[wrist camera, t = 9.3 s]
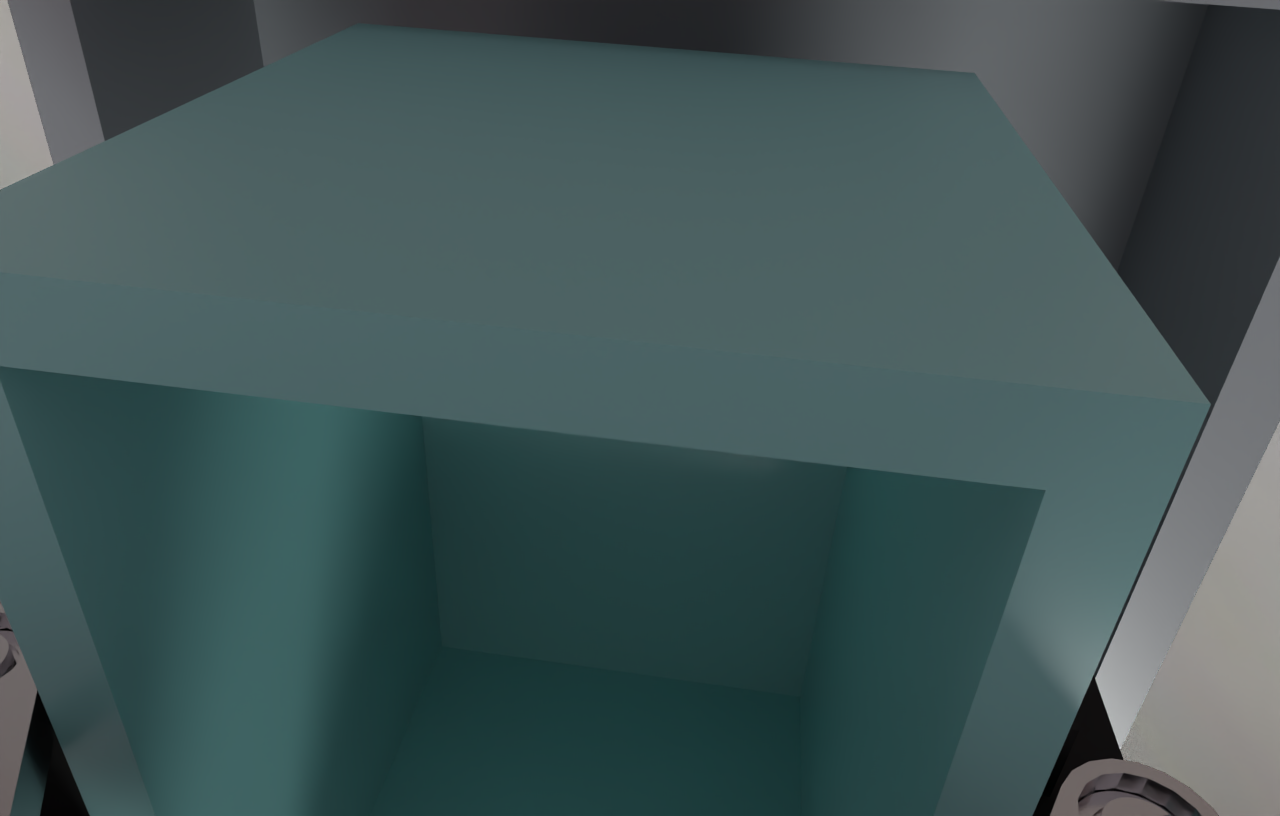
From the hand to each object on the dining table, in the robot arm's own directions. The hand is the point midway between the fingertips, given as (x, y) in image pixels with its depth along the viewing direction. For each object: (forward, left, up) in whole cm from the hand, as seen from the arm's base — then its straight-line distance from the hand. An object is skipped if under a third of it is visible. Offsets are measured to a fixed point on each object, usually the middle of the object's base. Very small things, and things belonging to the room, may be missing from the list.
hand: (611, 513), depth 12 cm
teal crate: (0, 0, -2) cm, 2 cm away
